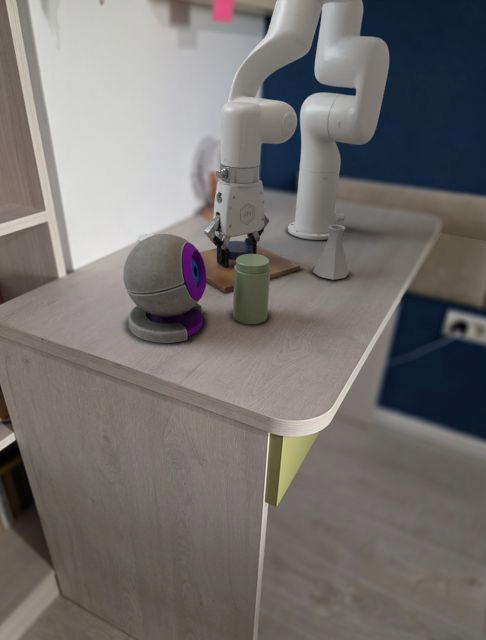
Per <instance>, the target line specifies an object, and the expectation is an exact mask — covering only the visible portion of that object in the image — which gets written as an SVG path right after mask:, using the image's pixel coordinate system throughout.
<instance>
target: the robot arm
mask: <svg viewBox="0 0 486 640" xmlns="http://www.w3.org/2000/svg"><path fill="white" fill-rule="evenodd" d="M320 16H321V17H320ZM363 16H364V3H363V0H276V1H275V5H274V9H273V11H272V15H271V19H270V23H269V25H268V29H267V32H266V34H265V36H264V37H263V39H261V40H260V42H259V43H258V44H257V45H256V46H255V47H253V49H251V52H249V54H248V55H247V56H246V57H245V58H244V60H243V61H242V63H241V64H240V65H239V67H238V69H237V70H236V72H235V75H234V77H233V78H232V79H233V80H232V83H231V86H230V89H229V94H228V97H227V102H225V104H223V105H222V107H221V112H220V164H219V166H220V167H219V170H216V172H215V176H216V177H217V179H219V181H217V183H216V189H215V197H214V203H213V219H212V220H211V222H210V223H209V224H208V225H207V227H206V228H205V230H204V235H205V236H206V237H207V238H208V239H209V241H210V242H212V244H214V246H216V248H217V263H218V264H219V265H221V266H223V267H225V268H227V267H228V266H229V249H227V245H228V243H229V241H231V239H232V238H234V237H241V236H244V235H246V238H245V239H244V242H247V243H249V244H251V245H252V246H253V254H256V251H257V246H258V242H259V241H260V240H261V237H262V236H261V235H263V233H264V231H265V229H266V227H267V226H268V225H269V223H270V219H269V218H268V217H267V216H266V215H265V213H266V212H265V209H266V208H265V191H264V185H263V180H261V179H260V168H261V153H262V152H261V150H262V145H263V144H269V145H270V144H271V145H278V144H279V145H280V144H282V143H286V142H287V141H289V140H290V139H291V138H292V137H293V136H294V134H295V131H296V129H297V127H298V126H297V125H298V117H297V113H296V111H295V109H294V108H293V107H292V106H291V105H290V104H289V103H287V102H285V101H281V100H276V99H268V98H264V97H263V98H261V97H257V94H258V91H259V90H260V87H261V86H262V84H263V83H264V82H265V81H266V79H268V77H269V76H270V75H272V74H273V73H275V72H276V71H278V70H279V69H281V68H283V67H286V66H287V65H290V64H291V63H293V62H295V61H297V60H299V59H301V58H303V57H304V56H306V55H307V54H308V53H309V51H310V50H311V47H312V45H313V40H314V36H315V34H316V30H317V28H318V27H317V26H318V23H319V20H320V23H319V24H320V25H319V32H318V39H317V44H316V45H317V46H316V52H315V60H314V76H315V79H316V80H317V81H318V82H319V83H320V84H322V85H325V86H330V87H335V88H336V87H337V88H348V89H355V95H351V94H344V93H335V92H315V93H312V94H311V95H308V96H307V97H306V99H305V100H304V101H303V102H302V104H301V107H300V112H299V126H300V141H301V142H300V143H301V144H300V162H299V172H298V182H297V193H296V203H295V204H296V205H295V215H294V221H293V222H290V223H289V224H288V225H287V232H288V233H289V234H291V235H292V236H294V237H297V238H300V239H304V240H309V241H310V240H311V241H326V240H328V237H329V232H330V230H329V229H328V227H329V226H330V225H335V224H336V223H337V222H342V221H344V220H345V217H346V216H345V214H344V213H343V212H340V213H335V209H336V201H337V195H338V186H339V179H340V171H341V165H342V164H341V163H342V161H341V159H342V158H341V153H340V150H339V148H338V145H337V142H338V143H344V144H350V145H358V146H359V145H361V146H362V145H365V144H367V143H369V142H370V141H371V140H372V138H373V137H374V135H375V132H376V130H377V127H378V123H379V117H380V112H381V109H382V104H383V99H384V94H385V90H386V84H387V80H388V76H389V75H388V74H389V69H390V50H389V48H388V47H389V46H388V44H387V42H386V41H385V40H383V39H382V38H380V37H376V36H363V35H361V29H362V22H363ZM320 18H321V19H320ZM216 232H217V234H216Z"/></svg>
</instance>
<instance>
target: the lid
mask: <svg viewBox="0 0 486 640" xmlns="http://www.w3.org/2000/svg"><path fill="white" fill-rule="evenodd" d="M227 249H229V259H230V260H236V259H237V257H239V256H241V255H244V254H253V246H252V245H251V244H249V243H247V242H245V241H243V240H242V241H241V240H229V243H228V245H227Z"/></svg>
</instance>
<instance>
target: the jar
mask: <svg viewBox="0 0 486 640" xmlns="http://www.w3.org/2000/svg"><path fill="white" fill-rule="evenodd" d="M269 265H270V264H269V259H268V258H267V257H265V256H263V255H258V254H244V255H241V256H239V257H237V259H236V265H235V267H234V290H233V300H232V303H233V304H232V317H233V319H234V320H235V321H236V322H238V323H241V324H245V325H259V324H262V323H264V322H266V320H267V319H268V313H269V312H268V311H269V299H270V285H271V279H270V272H271V268H270V266H269Z"/></svg>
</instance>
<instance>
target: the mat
mask: <svg viewBox="0 0 486 640" xmlns="http://www.w3.org/2000/svg"><path fill="white" fill-rule="evenodd" d="M199 252H200V254H201V256H202V258H203V261H204V264H205V269H206V283H208V284H210V285H211V286H213V287H215V288H216V289H218V290H220V291H221V292H223V293H228V292H231V291H234V267H235V265H236V260H230V259H229V266H228V267H227V268H225V267H223V266H221V265H219V264H218V263H217V247H215V248H211V249H207V250H202V251H199ZM256 254H258V255H263V256H265V257H267V258H268V259H269V264H270V265H269V266H270V268H271V272H270V280H272V279H274V278H278V277H282V276H285V275H287V274H291V273H293V272H297V271H300V270H301V265H300V264H298V263H296V262H294V261H291V260H289V259H287V258H285V257H283V256H281V255H279V254H276V253H274V252H273V251H269V250H267V249H265V248H263V247H261V246H260V245H259V246H258V245H257V251H256Z"/></svg>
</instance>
